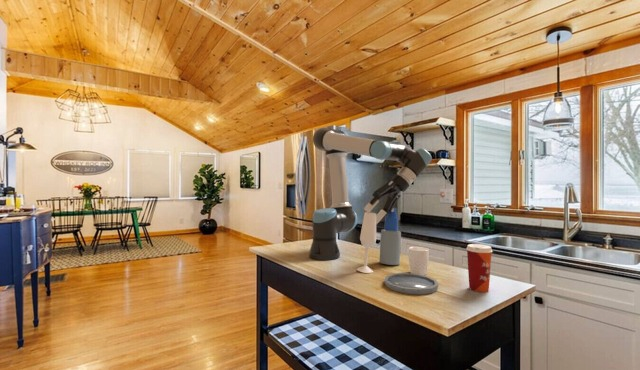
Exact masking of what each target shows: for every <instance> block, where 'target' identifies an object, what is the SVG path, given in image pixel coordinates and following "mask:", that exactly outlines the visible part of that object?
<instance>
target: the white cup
mask: <svg viewBox="0 0 640 370" xmlns="http://www.w3.org/2000/svg"><path fill="white" fill-rule="evenodd" d="M429 255H430V248H427V247H425V246H410V247H408V260H409V261H408V263H409V272H410V273H411V274H419V275H424V276H428V271H429V270H428V269H429V257H430V256H429Z"/></svg>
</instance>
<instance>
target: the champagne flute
mask: <svg viewBox="0 0 640 370" xmlns="http://www.w3.org/2000/svg"><path fill="white" fill-rule="evenodd" d="M376 215H377V213H376V212H371V211H370V212H369V213H368V212H367V211H364V215H363V219H362V223H361V224H362V226H361V230H360V235H359V240H360V242H361V244H362V245H363V246H364V247H365V251H364V263H363V265H362V266H360V267H357V268H356V270H357V271H358V272H360V273H365V274H371V273H374V271H373V270H372V268H370V267H369V266H368V258H369V248H371V247H372V246H373V245H374V244H375V243H376V241H377V224H376Z"/></svg>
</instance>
